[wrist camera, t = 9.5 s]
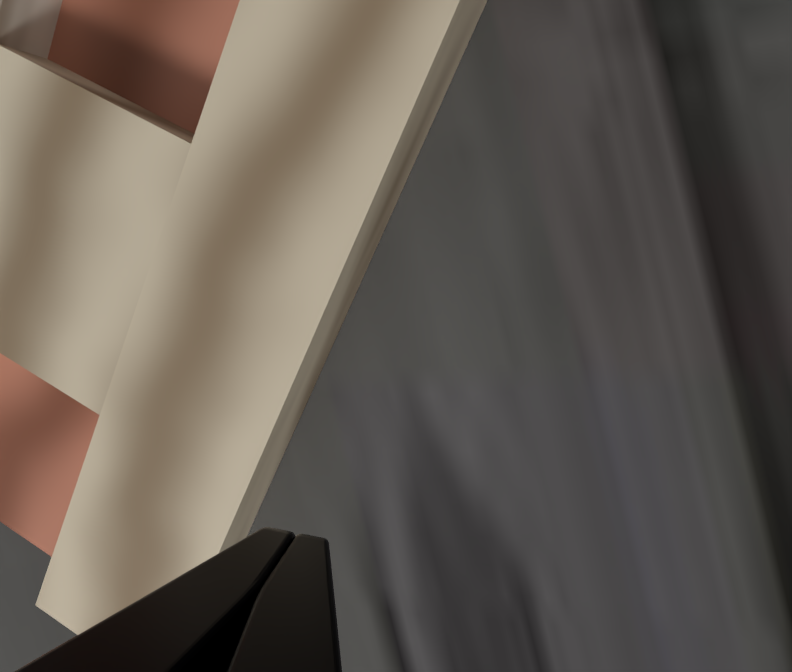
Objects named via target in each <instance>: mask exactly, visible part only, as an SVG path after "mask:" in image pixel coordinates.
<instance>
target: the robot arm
mask: <svg viewBox="0 0 792 672" xmlns="http://www.w3.org/2000/svg"><path fill="white" fill-rule="evenodd" d="M15 672H342V667H341V657H340V648H339V638H338V628H337V618H336V608H335V599H334V589H333V579H332V569H331V560H330V550H329V542H328V540H326V539H325V538H321V537H316V536H311V535H305V534H299V535H297V536H296V537H295V534H294V533H293V532H290V531H285V530H280V529H275V528H270V527H265V528H262V529H260V530H258V531H256V532H255V533H253V534H251V535H249V536H248V537H246V538H244V539H243V540H241V541H239V542H237V543H236V544H234V545H232V546H230V547H229V548H227V549H225V550H224V551H222V552H220V553H218V554H217V555H215V556H213V557H211V558H210V559H208V560H206V561H205V562H203V563H201V564H199V565H198V566H196V567H194V568H193V569H191V570H189V571H187V572H186V573H184V574H182V575H180V576H179V577H177V578H175V579H174V580H172V581H170V582H168V583H167V584H165V585H163V586H161V587H160V588H158V589H156V590H155V591H153V592H151V593H149V594H148V595H146V596H144V597H142V598H141V599H139V600H137V601H136V602H134V603H132V604H130V605H129V606H127V607H125V608H124V609H122V610H120V611H118V612H117V613H115V614H113V615H111V616H110V617H108V618H106V619H105V620H103V621H101V622H99V623H98V624H96V625H94V626H92V627H91V628H89V629H87V630H86V631H84V632H82V633H80V634H79V635H77V636H75V637H73V638H72V639H70V640H68V641H67V642H65V643H63V644H61V645H60V646H58V647H56V648H54V649H53V650H51V651H49V652H48V653H46V654H44V655H42V656H41V657H39V658H37V659H36V660H34V661H32V662H30V663H29V664H27V665H25V666H23V667H22V668H20V669H18V670H17V671H15Z"/></svg>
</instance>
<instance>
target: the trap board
mask: <svg viewBox="0 0 792 672" xmlns="http://www.w3.org/2000/svg"><path fill="white" fill-rule="evenodd" d="M486 3H487V0H0V522H2V523H3V524H5V525H6V526H8V527H9V528H11V529H12V530H13V531H15V532H16V533H18V534H19V535H21V536H22V537H24V538H25V539H27V540H28V541H30V542H31V543H32V544H34V545H35V546H37V547H38V548H40V549H41V550H43V551H44V552H46V553H47V554H49V555H50V556H52V558H51V561H50V564H49V567H48V569H47V572H46V575H45V578H44V581H43V584H42V587H41V590H40V593H39V596H38V599H37V602H36V606H37V607H39V608H40V609H42V610H43V611H44V612H46V613H47V614H49V615H50V616H51V617H53V618H54V619H56V620H57V621H59V622H60V623H61V624H63V625H64V626H66V627H67V628H69V629H70V630H71V631H73V632H74V633H76V634H77V635H79V634H80V633H82V632H84V631H86V630H87V629H89V628H91V627H92V626H94V625H96V624H98V623H99V622H101V621H103V620H105V619H106V618H108V617H110V616H111V615H113V614H115V613H117V612H118V611H120V610H122V609H124V608H125V607H127V606H129V605H130V604H132V603H134V602H136V601H137V600H139V599H141V598H142V597H144V596H146V595H148V594H149V593H151V592H153V591H155V590H156V589H158V588H160V587H161V586H163V585H165V584H167V583H168V582H170V581H172V580H174V579H175V578H177V577H179V576H180V575H182V574H184V573H186V572H187V571H189V570H191V569H193V568H194V567H196V566H198V565H199V564H201V563H203V562H205V561H206V560H208V559H210V558H211V557H213V556H215V555H217V554H218V553H220V552H222V551H224V550H225V549H227V548H229V547H230V546H232V545H234V544H236V543H237V542H239V541H241V540H243V539H244V538H246V537H247V535H248V533H249V531H250V528H251V526H252V524H253V522H254V520H255V517H256V515H257V513H258V511H259V508H260V506H261V504H262V502H263V499H264V497H265V495H266V493H267V491H268V488H269V486H270V484H271V482H272V479H273V477H274V475H275V473H276V470H277V468H278V466H279V464H280V462H281V459H282V457H283V455H284V453H285V450H286V448H287V446H288V444H289V442H290V439H291V437H292V435H293V433H294V430H295V428H296V426H297V424H298V421H299V419H300V417H301V415H302V413H303V410H304V408H305V406H306V404H307V401H308V399H309V397H310V395H311V393H312V390H313V388H314V386H315V384H316V381H317V379H318V377H319V375H320V372H321V370H322V368H323V366H324V364H325V361H326V359H327V357H328V355H329V352H330V350H331V348H332V346H333V343H334V341H335V339H336V337H337V335H338V332H339V330H340V328H341V326H342V323H343V321H344V319H345V317H346V315H347V312H348V310H349V308H350V306H351V303H352V301H353V299H354V297H355V294H356V292H357V290H358V288H359V286H360V283H361V281H362V279H363V277H364V274H365V272H366V270H367V268H368V266H369V263H370V261H371V259H372V257H373V254H374V252H375V250H376V248H377V245H378V243H379V241H380V239H381V237H382V234H383V232H384V230H385V228H386V225H387V223H388V221H389V219H390V216H391V214H392V212H393V210H394V208H395V205H396V203H397V201H398V199H399V196H400V194H401V192H402V190H403V188H404V185H405V183H406V181H407V179H408V176H409V174H410V172H411V170H412V167H413V165H414V163H415V161H416V159H417V156H418V154H419V152H420V150H421V147H422V145H423V143H424V141H425V139H426V136H427V134H428V132H429V130H430V127H431V125H432V123H433V121H434V118H435V116H436V114H437V112H438V110H439V107H440V105H441V103H442V101H443V98H444V96H445V94H446V92H447V89H448V87H449V85H450V83H451V81H452V78H453V76H454V74H455V72H456V69H457V67H458V65H459V63H460V61H461V58H462V56H463V54H464V52H465V49H466V47H467V45H468V43H469V40H470V38H471V36H472V34H473V32H474V29H475V27H476V25H477V23H478V20H479V18H480V16H481V14H482V11H483V9H484V7H485V5H486Z"/></svg>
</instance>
